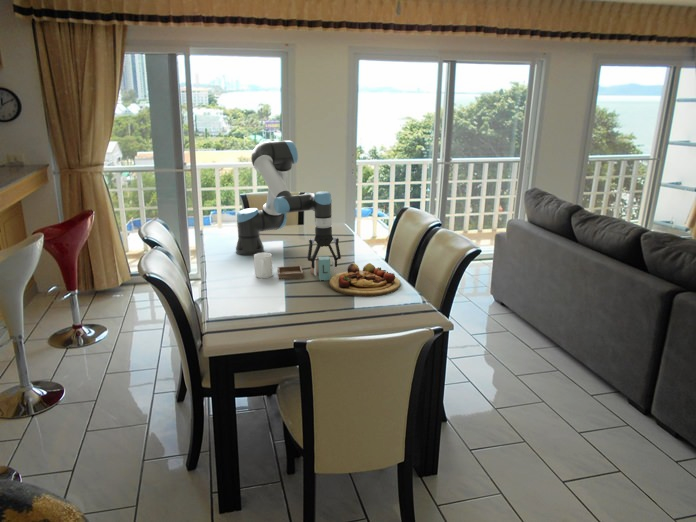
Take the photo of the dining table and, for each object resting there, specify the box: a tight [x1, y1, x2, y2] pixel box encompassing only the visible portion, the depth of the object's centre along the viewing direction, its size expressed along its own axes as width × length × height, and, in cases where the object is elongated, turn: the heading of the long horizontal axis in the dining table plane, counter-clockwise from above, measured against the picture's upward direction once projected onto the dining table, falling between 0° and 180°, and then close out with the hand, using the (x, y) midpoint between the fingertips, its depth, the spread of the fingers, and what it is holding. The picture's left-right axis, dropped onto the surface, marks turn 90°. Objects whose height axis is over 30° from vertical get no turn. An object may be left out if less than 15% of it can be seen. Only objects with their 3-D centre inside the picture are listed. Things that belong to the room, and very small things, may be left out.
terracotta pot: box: [310, 255, 322, 276], centre depth 254 cm, size 7×7×7 cm
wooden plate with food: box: [328, 262, 402, 298], centre depth 236 cm, size 32×32×8 cm
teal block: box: [318, 255, 332, 282], centre depth 244 cm, size 5×5×10 cm
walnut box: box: [277, 265, 304, 280], centre depth 251 cm, size 11×11×2 cm
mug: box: [253, 252, 273, 279], centre depth 248 cm, size 12×8×10 cm
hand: (324, 274), depth 245 cm, fingers open, 8 cm apart
